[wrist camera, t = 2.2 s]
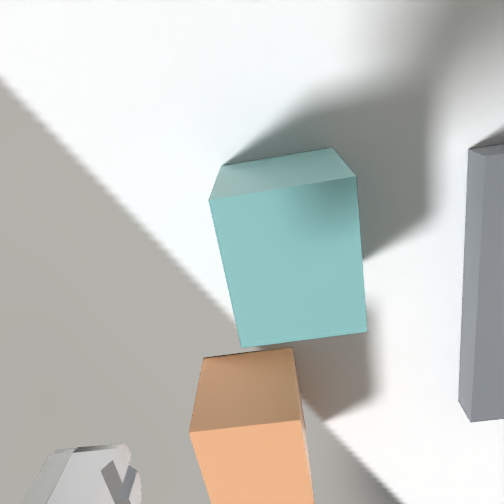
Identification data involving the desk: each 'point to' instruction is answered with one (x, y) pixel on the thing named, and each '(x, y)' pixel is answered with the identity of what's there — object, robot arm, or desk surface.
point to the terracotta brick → (251, 429)
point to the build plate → (483, 288)
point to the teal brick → (291, 247)
